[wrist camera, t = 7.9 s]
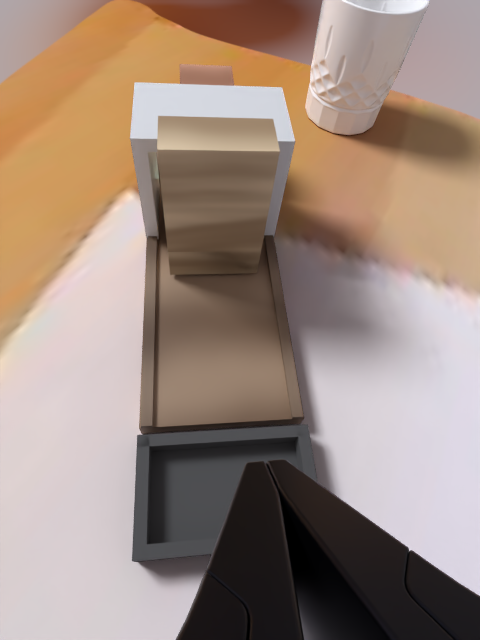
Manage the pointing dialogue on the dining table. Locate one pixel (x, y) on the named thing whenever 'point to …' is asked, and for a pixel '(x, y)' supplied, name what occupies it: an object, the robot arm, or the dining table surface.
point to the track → (215, 346)
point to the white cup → (358, 59)
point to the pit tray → (201, 483)
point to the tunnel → (203, 103)
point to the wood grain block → (215, 184)
